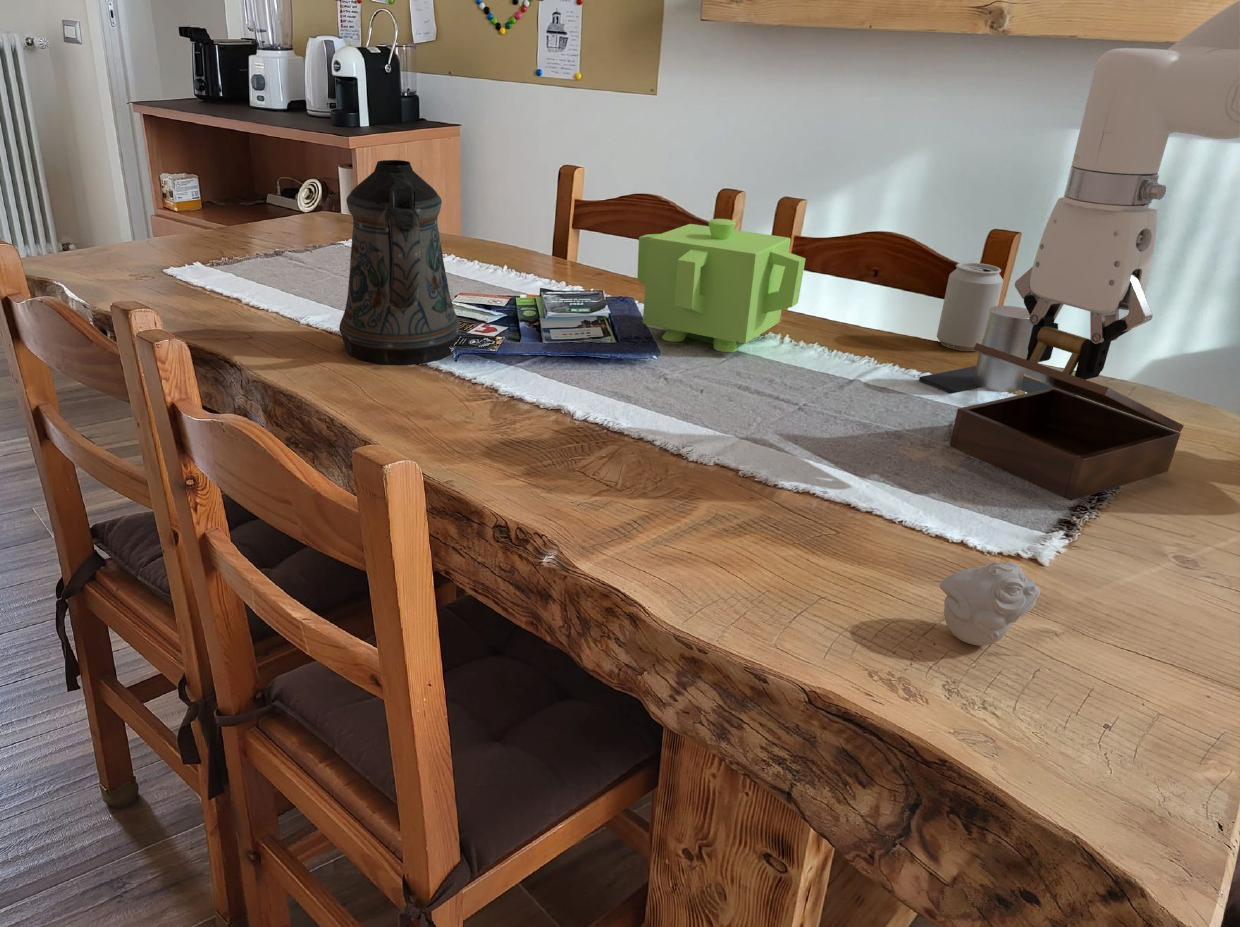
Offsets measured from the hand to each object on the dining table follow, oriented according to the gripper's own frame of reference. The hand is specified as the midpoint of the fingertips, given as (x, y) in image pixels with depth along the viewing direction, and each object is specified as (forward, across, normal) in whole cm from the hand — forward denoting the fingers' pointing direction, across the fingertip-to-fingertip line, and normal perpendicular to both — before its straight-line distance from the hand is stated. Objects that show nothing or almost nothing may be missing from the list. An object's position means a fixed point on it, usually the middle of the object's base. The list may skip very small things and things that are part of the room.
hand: (1062, 367), depth 104 cm
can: (+12, +36, -30) cm, 49 cm away
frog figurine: (+12, -20, +34) cm, 41 cm away
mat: (+12, +20, -18) cm, 30 cm away
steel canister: (+11, +20, -18) cm, 29 cm away
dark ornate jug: (+11, +67, +47) cm, 82 cm away
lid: (+3, 0, -4) cm, 5 cm away
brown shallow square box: (+12, 0, -3) cm, 12 cm away
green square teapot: (+12, +55, +3) cm, 56 cm away
